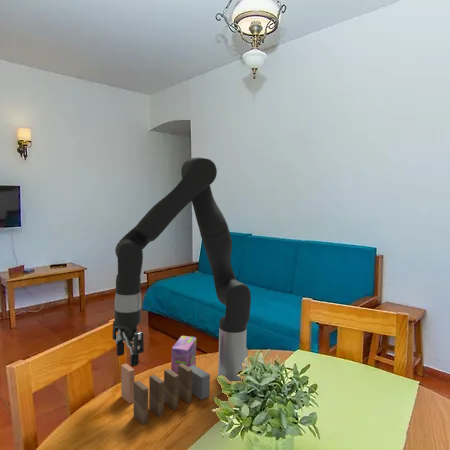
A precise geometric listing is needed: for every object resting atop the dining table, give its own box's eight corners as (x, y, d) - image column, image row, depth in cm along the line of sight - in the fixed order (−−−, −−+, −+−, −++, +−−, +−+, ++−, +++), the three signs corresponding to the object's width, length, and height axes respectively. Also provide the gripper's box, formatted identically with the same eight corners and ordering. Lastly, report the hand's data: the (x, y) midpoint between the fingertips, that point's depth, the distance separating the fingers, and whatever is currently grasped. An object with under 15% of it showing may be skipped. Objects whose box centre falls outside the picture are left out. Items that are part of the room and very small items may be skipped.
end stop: (193, 385, 115) (193, 364, 115) (209, 396, 110) (209, 374, 109) (185, 388, 113) (186, 367, 113) (201, 399, 108) (202, 377, 107)
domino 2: (153, 406, 104) (154, 374, 103) (163, 415, 100) (164, 381, 99) (149, 409, 102) (149, 376, 101) (158, 417, 99) (159, 383, 98)
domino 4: (181, 394, 110) (182, 363, 109) (191, 401, 107) (192, 369, 106) (177, 396, 109) (178, 364, 108) (187, 403, 106) (188, 371, 105)
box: (187, 384, 116) (187, 349, 115) (170, 382, 117) (171, 347, 116) (196, 369, 126) (196, 337, 125) (180, 367, 127) (181, 335, 126)
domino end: (126, 394, 109) (126, 363, 108) (134, 401, 106) (134, 369, 105) (121, 396, 108) (121, 365, 107) (129, 403, 105) (129, 371, 104)
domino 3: (168, 400, 107) (168, 368, 106) (178, 408, 103) (178, 375, 102) (163, 402, 106) (164, 370, 105) (173, 410, 102) (174, 377, 101)
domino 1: (138, 414, 100) (138, 380, 99) (148, 422, 96) (148, 387, 96) (133, 416, 99) (133, 382, 98) (142, 425, 95) (143, 389, 94)
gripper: (152, 311, 102) (151, 365, 103) (127, 298, 112) (126, 348, 113) (128, 316, 96) (127, 373, 98) (104, 303, 107) (104, 355, 108)
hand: (127, 360), depth 106 cm, fingers open, 8 cm apart
